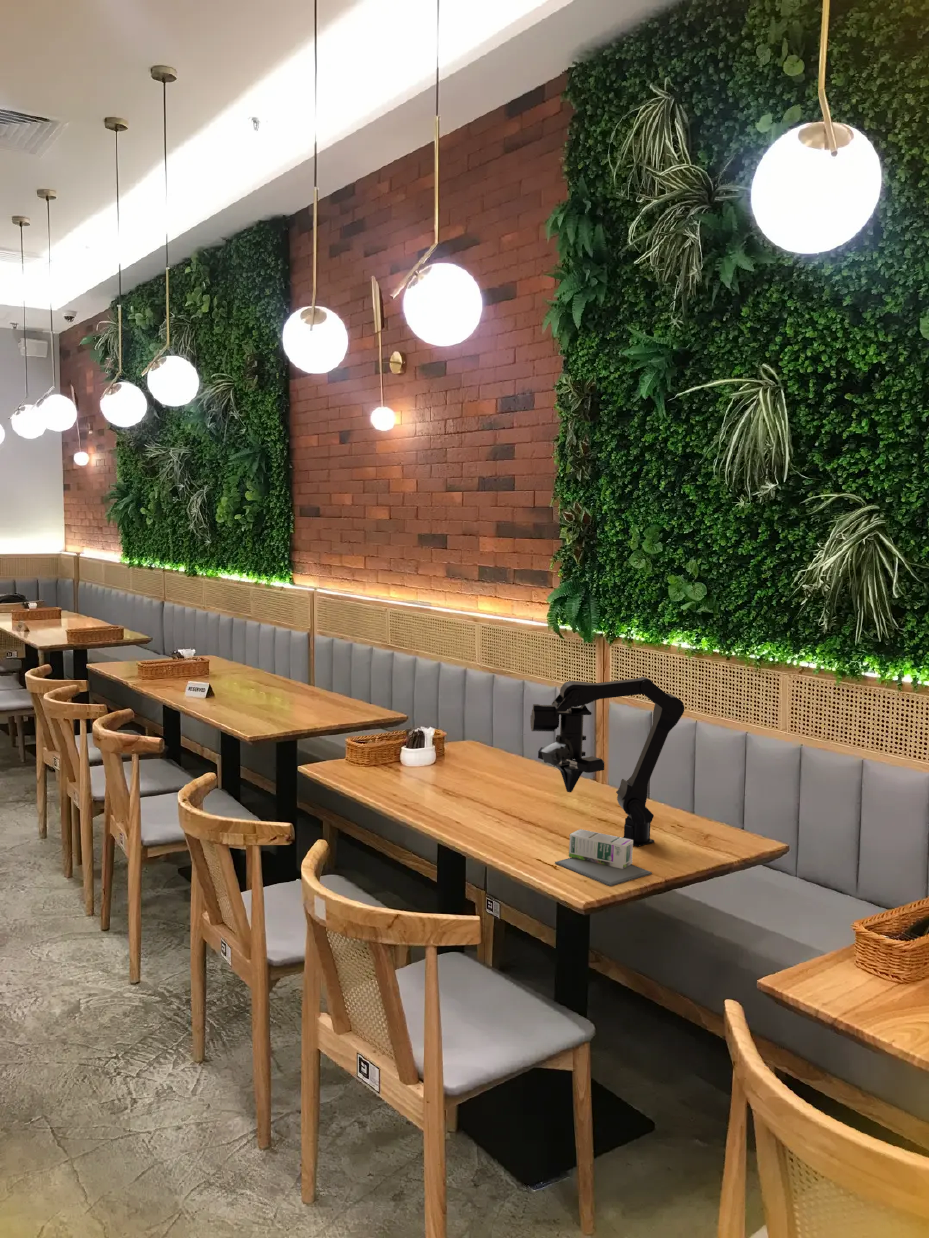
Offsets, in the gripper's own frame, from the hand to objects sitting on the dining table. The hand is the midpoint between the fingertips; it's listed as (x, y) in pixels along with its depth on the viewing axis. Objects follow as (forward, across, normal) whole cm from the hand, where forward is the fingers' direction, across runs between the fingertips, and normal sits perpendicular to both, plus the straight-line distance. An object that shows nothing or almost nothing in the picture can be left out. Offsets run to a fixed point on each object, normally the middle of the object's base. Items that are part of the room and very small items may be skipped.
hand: (569, 791), depth 244 cm
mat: (+13, +19, -7) cm, 24 cm away
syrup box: (+10, +8, -6) cm, 14 cm away
